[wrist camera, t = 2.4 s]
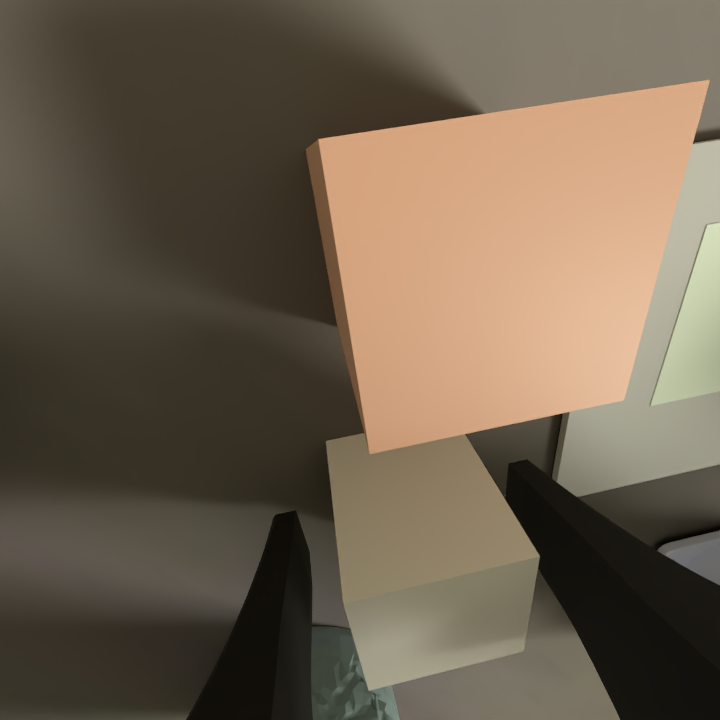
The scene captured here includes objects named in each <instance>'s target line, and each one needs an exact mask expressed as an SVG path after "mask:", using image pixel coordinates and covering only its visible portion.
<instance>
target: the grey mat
mask: <svg viewBox="0 0 720 720" xmlns="http://www.w3.org/2000/svg"><path fill="white" fill-rule="evenodd" d="M719 464H720V139H714V140H708V141H702V142H695V143H693V145H692V148H691V152H690V156H689V160H688V163H687V167H686V171H685V175H684V178H683V182H682V186H681V190H680V193H679V197H678V201H677V204H676V208H675V212H674V216H673V219H672V223H671V227H670V231H669V234H668V238H667V242H666V246H665V249H664V253H663V257H662V260H661V264H660V268H659V272H658V275H657V279H656V283H655V287H654V290H653V294H652V298H651V302H650V305H649V309H648V313H647V316H646V320H645V324H644V328H643V331H642V335H641V339H640V343H639V346H638V350H637V354H636V358H635V361H634V365H633V369H632V372H631V376H630V380H629V384H628V387H627V391H626V395H625V399H624V400H623V401H618V402H613V403H609V404H604V405H599V406H595V407H590V408H585V409H580V410H576V411H571V412H566V413H563V416H562V422H561V428H560V434H559V439H558V445H557V451H556V457H555V463H554V468H553V474H552V479H553V480H555V481H556V482H557V483H559V484H560V485H561V486H563V487H564V488H565V489H567V490H568V491H569V492H571V493H572V494H573V495H575V496H576V497H579V496H584V495H588V494H592V493H597V492H601V491H605V490H610V489H614V488H619V487H623V486H627V485H632V484H636V483H640V482H645V481H649V480H653V479H658V478H662V477H667V476H671V475H675V474H680V473H684V472H688V471H693V470H697V469H701V468H706V467H710V466H715V465H719Z"/></svg>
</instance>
